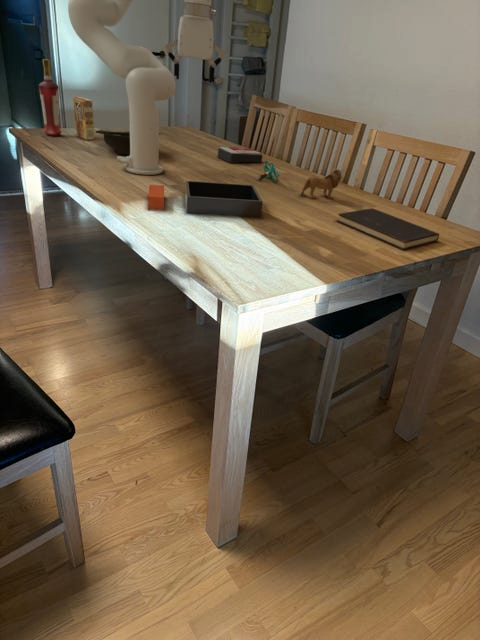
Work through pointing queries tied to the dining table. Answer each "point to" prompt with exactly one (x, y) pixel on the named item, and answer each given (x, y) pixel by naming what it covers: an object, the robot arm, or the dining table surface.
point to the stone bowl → (117, 140)
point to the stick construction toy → (269, 172)
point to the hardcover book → (388, 228)
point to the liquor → (50, 102)
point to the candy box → (84, 118)
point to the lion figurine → (323, 183)
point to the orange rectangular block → (156, 197)
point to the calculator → (239, 155)
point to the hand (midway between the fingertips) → (193, 80)
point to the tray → (222, 199)
